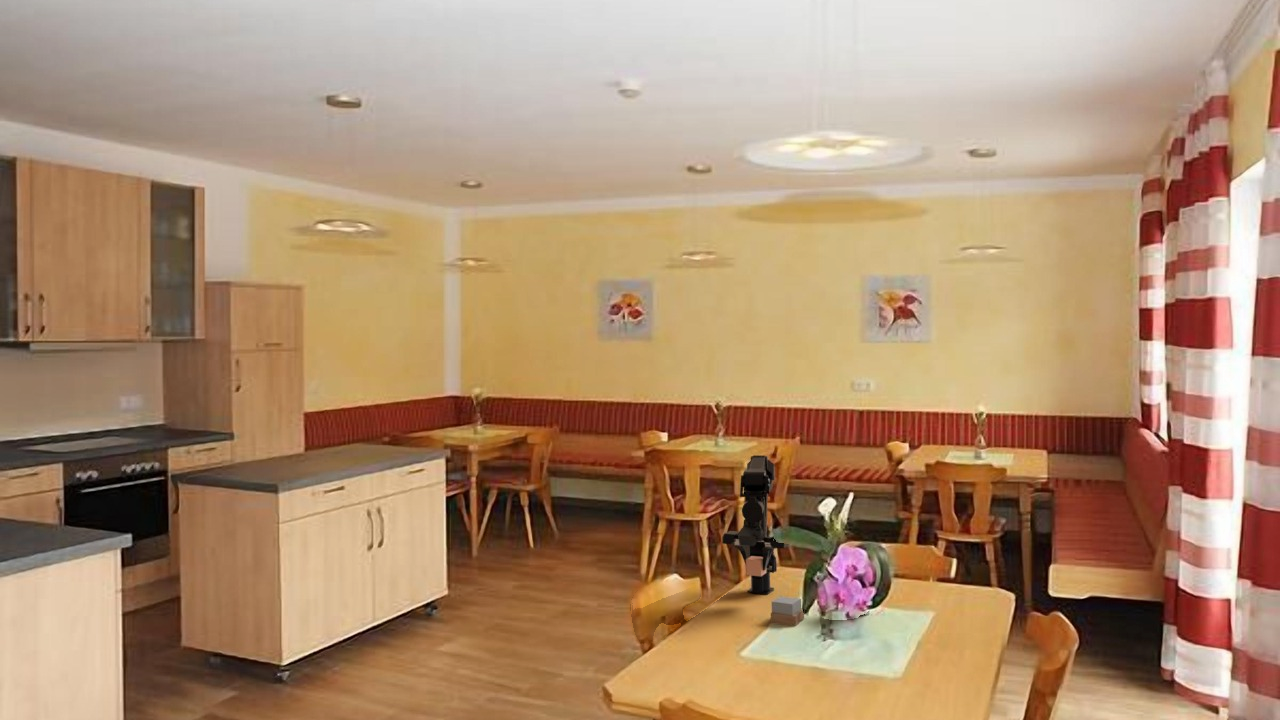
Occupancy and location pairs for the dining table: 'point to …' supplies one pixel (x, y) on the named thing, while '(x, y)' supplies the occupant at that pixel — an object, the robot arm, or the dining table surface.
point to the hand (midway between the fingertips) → (756, 569)
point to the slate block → (786, 605)
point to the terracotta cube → (755, 566)
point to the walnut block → (787, 618)
